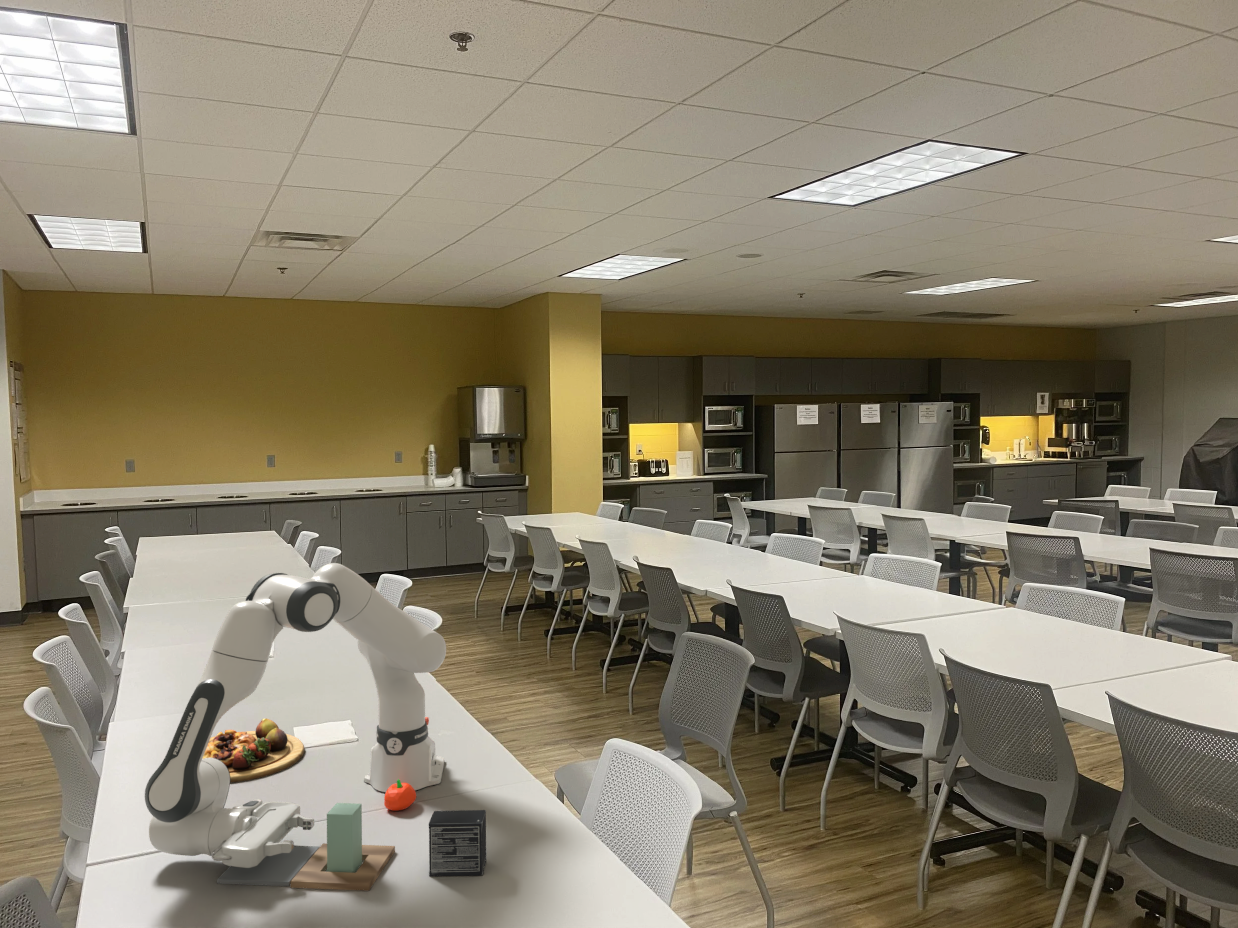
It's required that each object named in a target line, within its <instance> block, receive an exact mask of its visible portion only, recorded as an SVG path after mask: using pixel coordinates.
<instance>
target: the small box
mask: <svg viewBox="0 0 1238 928" xmlns="http://www.w3.org/2000/svg"><path fill="white" fill-rule="evenodd" d="M428 834H429V835H428V843H429V844H428V849H429V850H428V851H429V854H428V858H429V861H428V863H429V871H428V876H429V877H465V876H466V877H468V876H470V877H471V876H477V877H478V876H483V875H484V873H485V868H486V865H487V810H486V809H469V810H468V809H467V810H464V809H463V810H462V809H461V810H433V812H432V815H431V817H430V819H429V822H428Z"/></svg>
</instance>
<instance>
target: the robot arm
mask: <svg viewBox="0 0 1238 928" xmlns="http://www.w3.org/2000/svg"><path fill="white" fill-rule="evenodd" d="M332 620H333V621H334V622H335V623H337V624H338V625H339V626H340V627H342V628H343V630H345V631H346V632H347V633H349V635H351V636H352V637H353V638H355V639H356V640H357V647H358V651H359V653H360V654H361V655H362V657H363V658H364V659H365V660H366V663H367V665H368V667H369V669H370V672H371V676H372V679H373V681H374V685H375V689H376V694H377V709H378V710H377V712H378V717H377V718H378V724H377V725H376V731H375V733H376V734H375V736H376V743H375V744H374V745H373V746H372V747H371V750H370V761H369V762H370V763H369V772H368V773H367V774H365V776H364V778H363V782H365V783H367V784H368V785H369V784H370V786H371V787H372V788H373V789H375V790H376V791H379V792H383V793H386V791H387V789H388V788H389V787H390V786H391V785H392V784H396V783H397V780H398V779H399V780H400V782H401V783H408V784H410V785H411V786H412V787H413V789H414V790H415V791H417V790H421V789H423V788H426V787H429V786H433V785H438V784H440V783H441V782H442V778H443V771H444V767H445V757H443V756H440V755H436V742H435V740H433V739H432V738H431V737H430V736H429V728H428V727H429V723H430V717H429V716H426V693H425V689H424V687H423V686H422V684H421V683H420V682H419V681H418V679H417V677H416V675H415V674H425V673H432V672H435V671H436V670H438V669H439V668H440V667H441V665H442V664H443V662H444V661H445V658H446V654H447V642H446V641H445V639H444V636H443V635H442V634H440V633H438V632H437V631H435V630H433V629H432V628H430V627H428V626H426V625H425V624H423V623H422V622H420V621H419V620H418V619H416V618H415V617H413V616H412V615H410V614H409V613H407V612H405V611H404V610H402V609H401V608H399V607H398V606H396V605H395V604H393V603H391V602H390V601H389V600H387V598H385V596H383V595H382V594H381V593H380V592H379V591H378V590H377V589H376V588H374V587H373V585H371V584H370V583H369V582H368V581H367V580H366V579H365V578H363V577H362V576H361V575H359V574H358V573H357V572H355V571H353V570H352V569H350V568H349V567H347V566H346V565H344V564H341V563H337V562H330V563H327V564H324V565H323V566H321V567H319V568H318V569H317V570H316V571H315V572H314V574H313V575H312V577H310V578H307V577H303V576H300V575H292V574H287V573H284V572H275V573H274V572H273V573H269V574H266V575H264V576H262V577H261V578H260V579H259V580H258V581H256V583H254V585H253V586H252V588H251V591H249V594H248V595H247V596H246V598H245V600H243V601H239V602H237V603H235V604H233V605H232V606H231V607H230V609H229V610H228V612H227V614H226V616H225V617H224V619H223V621H222V623H221V626H220V628H219V629H218V632H217V635H216V636H215V640H214V643H213V645H212V649H211V651H210V654H209V657H208V660H207V664H206V666H205V668H204V671H203V673H202V675H201V678H200V680H199V682H198V684H197V685H196V687H195V689H194V690H193V692H192V694H191V697H190V698H189V700H188V703H187V704H186V706H185V710H184V711H183V712H182V713H183V714H182V716H181V718H180V721H179V723H178V725H177V728H176V730H175V733H174V736H173V738H172V740H171V742H170V745H169V747H168V750H167V752H166V754H165V757H164V758H163V761H162V762H161V763H160V765H159V766H158V767H157V768H156V770H155V771H154V772H153V773H152V775H151V776H150V778H149V780H148V781H147V783H146V786H145V789H144V801H145V805H146V808H147V810H148V812H149V813H150V814H151V819H150V822H149V826H148V837H149V838H148V839H149V841H150V844H151V845H152V846H153V848H154V849H155V850H157V851H159V852H161V853H164V854H169V855H175V856H176V855H177V856H185V857H186V856H188V857H194V856H199V855H208V856H210V857H211V859H212V860H213V861H214V862H221V863H222V864H223V865H225V866H228V867H230V866H234V867H242V868H251V867H255V866H257V865H258V864H259V863H260V862H261V861H262V860H263V859H264V858H265V857H266V856H272V855H276V854H280V853H290V852H291V850H292V849H293V848H294V846H295V844H294V840H291V839H290V840H288V839H285V840H283V839H284V838H285V837H286V836H288V834H289V833H290V832H291V831H292V830H293V829H294V828H295V829H296V828H299V827H300V828H302V830H304V831H310V830H312V829H313V828H314V827H315V819H314V818H313V817H305V816H303V815H302V814H301V806H300V805H299V804H297V803H294V802H287V801H267V802H264V803H263V800H262V799H257V798H256V799H252V800H250V801H248V802H246V803H244V804H241V805H237V806H233V807H232V808H225V805H226V802H227V799H228V796H229V795H228V794H229V791H230V787H231V783H230V773H229V770H228V768H227V767H226V765H225V764H224V763H223V762H222V761H220V760H218V759H216V758H204V759H202V758H203V755H204V753H205V750H206V748H207V745H208V743H209V740H210V738H211V737H212V735H213V733H214V730H215V728H216V726H217V724H218V723H219V721H220V720H221V719H222V717H223V716H224V715H225V714H226V713H228V712H229V711H230V710H231V709H232V708H233V707H235V706H236V705H237V704H239V703H240V702H242V701H244V700H245V699H247V698H248V697H250V696H251V695H253V693H255V691H256V690H257V688H258V686H259V685H260V683H261V681H262V679H263V677H264V674H265V672H266V668H267V666H268V662H269V659H270V655H271V651H272V646H273V643H274V641H275V639H276V637H277V636H278V634H280V632H281V631H282V630H284V628H287V629H293V630H296V631H299V632H302V633H312V632H318V631H320V630H323V629H324V628H325V627H327V626H328V625H329V624H330V623H331V622H332ZM282 840H283V841H282ZM293 845H294V846H293Z"/></svg>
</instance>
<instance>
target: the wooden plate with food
mask: <svg viewBox="0 0 1238 928" xmlns="http://www.w3.org/2000/svg"><path fill="white" fill-rule="evenodd" d="M304 754H305V745H304V743H303V741H302V740H301V739H299V738H297V737H296V736H294V735H293V734H288V733H285V731H284V730H283V729H280V728H279V726H278V724H277V723H276V722H274V721H273V720H272V719H270V718H262V719H261V720H260V721H259V723H258V724H257V726H256V728H255V730H251V731H250V730H249V731H236V730H235V729H224V733H223V732H222V731H220V732H218V733H217V734H216V735H215V736H211V738H210V740H209V743H208V745H207V748H206V750H205V753H204V755H203V758H202V759H204V758H216V759H218V760H220V761H222V762H223V763H224V764H225V765H226V767H227V768H228V770H229V773H230V784H233V783H241V782H246V781H252V780H256V779H261V778H264V777H269V776H271V775H274V774H276V773H279V772H282V771H284V770H286V769H288V768H290V767H292V766H294V765H295V764H297V762H299V761H300V760H301V759H302V758H303V756H304Z"/></svg>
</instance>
